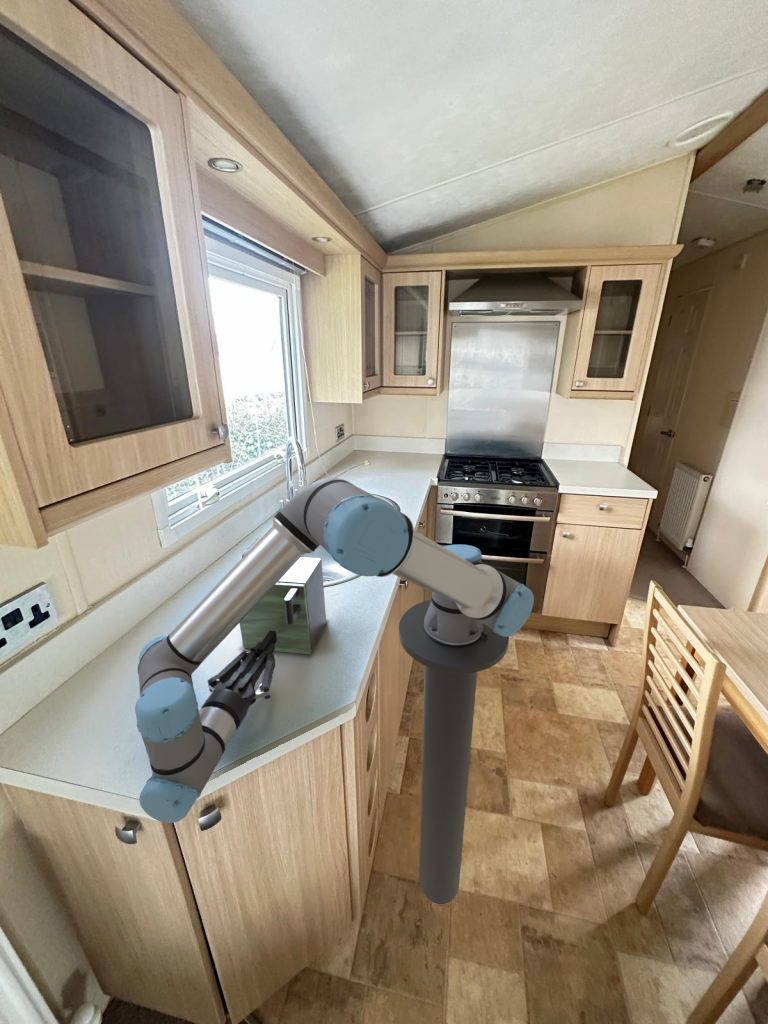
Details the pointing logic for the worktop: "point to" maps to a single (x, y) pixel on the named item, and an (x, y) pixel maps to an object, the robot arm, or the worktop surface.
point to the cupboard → (310, 592)
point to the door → (280, 619)
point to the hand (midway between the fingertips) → (273, 635)
